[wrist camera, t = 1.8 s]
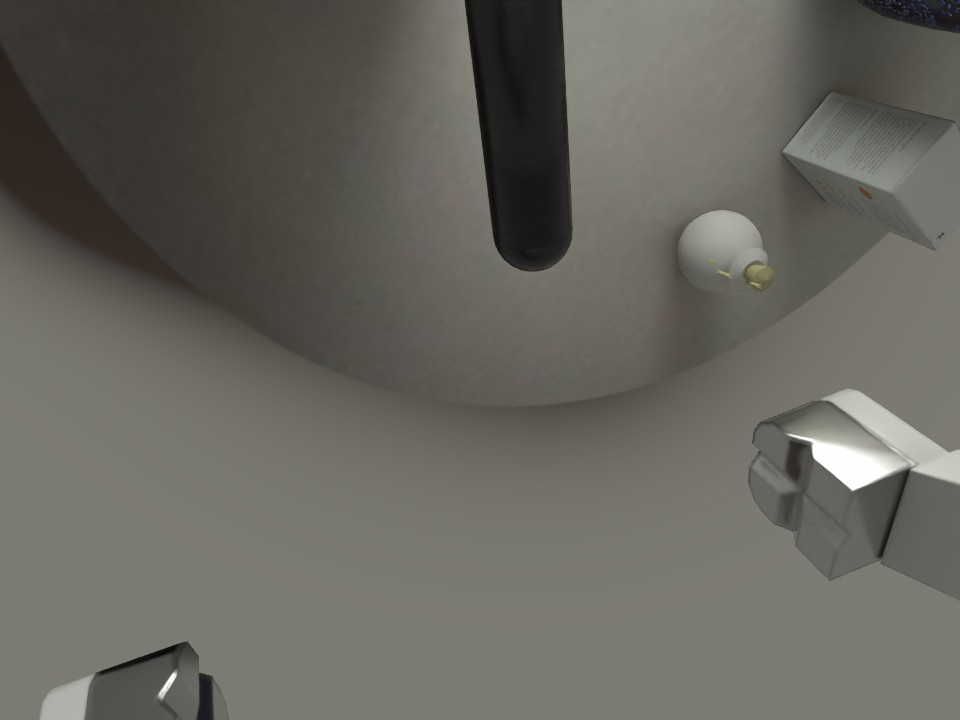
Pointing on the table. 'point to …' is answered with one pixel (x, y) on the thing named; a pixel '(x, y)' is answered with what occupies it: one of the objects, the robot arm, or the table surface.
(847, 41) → the table surface
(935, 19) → the planter
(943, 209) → the small box
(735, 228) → the ornament
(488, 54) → the door
